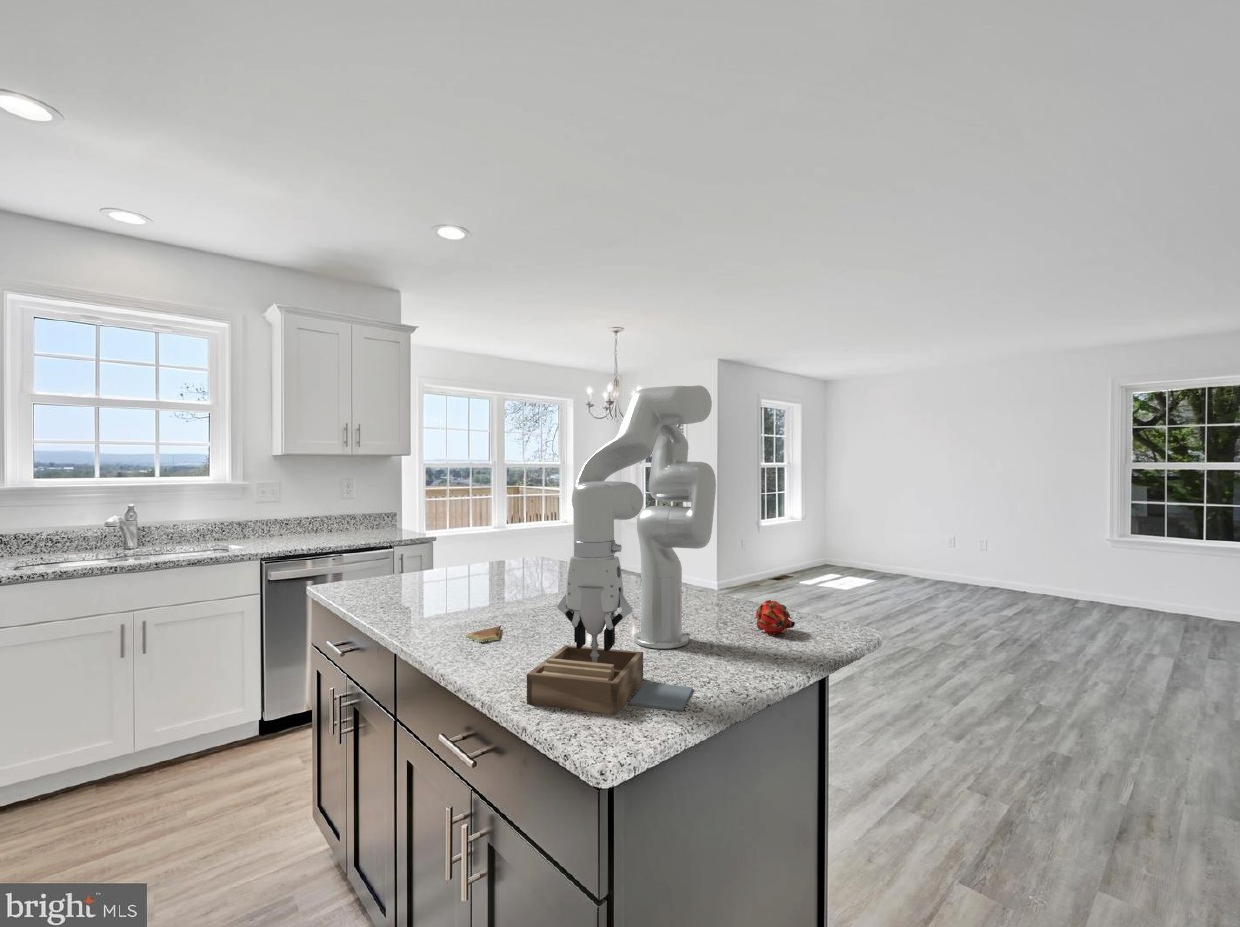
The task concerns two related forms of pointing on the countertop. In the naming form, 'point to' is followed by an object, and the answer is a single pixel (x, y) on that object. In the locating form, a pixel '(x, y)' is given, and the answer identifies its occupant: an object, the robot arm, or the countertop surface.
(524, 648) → the countertop surface
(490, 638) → the shard
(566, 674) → the offcut stack
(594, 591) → the chalice
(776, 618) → the dragon fruit
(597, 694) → the frame
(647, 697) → the mat
